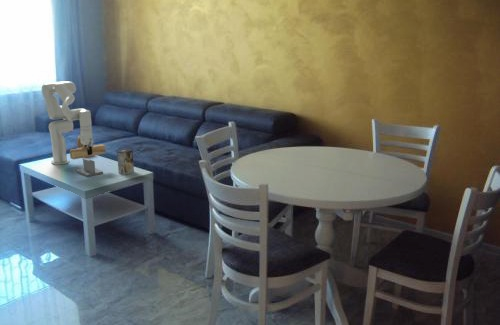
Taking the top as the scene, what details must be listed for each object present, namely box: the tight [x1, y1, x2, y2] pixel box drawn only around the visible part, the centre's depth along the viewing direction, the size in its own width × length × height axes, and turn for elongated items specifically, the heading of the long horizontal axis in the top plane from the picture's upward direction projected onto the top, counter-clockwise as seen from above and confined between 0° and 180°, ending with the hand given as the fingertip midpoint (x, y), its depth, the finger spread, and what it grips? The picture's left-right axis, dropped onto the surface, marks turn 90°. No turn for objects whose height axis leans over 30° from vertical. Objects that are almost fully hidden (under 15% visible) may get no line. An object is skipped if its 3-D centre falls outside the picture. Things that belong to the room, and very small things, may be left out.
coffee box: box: [116, 148, 135, 176], centre depth 336 cm, size 9×6×16 cm
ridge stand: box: [75, 157, 104, 178], centre depth 335 cm, size 16×12×10 cm
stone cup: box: [76, 135, 83, 148], centre depth 381 cm, size 15×12×15 cm
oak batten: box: [69, 143, 106, 160], centre depth 332 cm, size 4×24×6 cm, turn 136°
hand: (88, 153), depth 332 cm, fingers closed on oak batten, 4 cm apart
